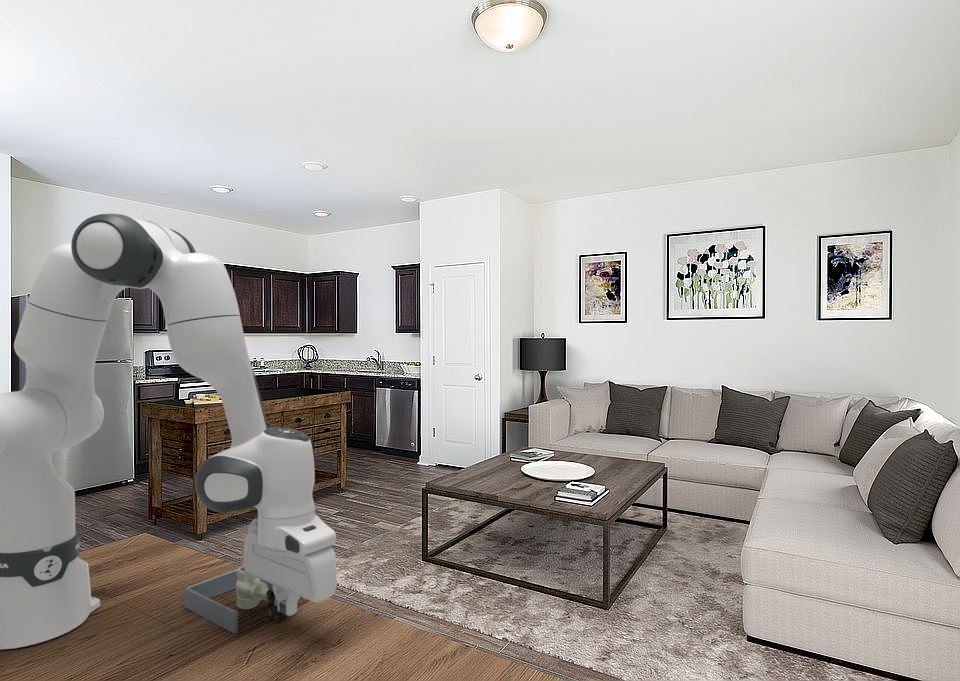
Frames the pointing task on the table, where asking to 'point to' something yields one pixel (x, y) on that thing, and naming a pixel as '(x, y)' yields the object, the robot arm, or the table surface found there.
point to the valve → (255, 594)
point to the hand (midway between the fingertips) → (287, 612)
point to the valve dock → (210, 609)
